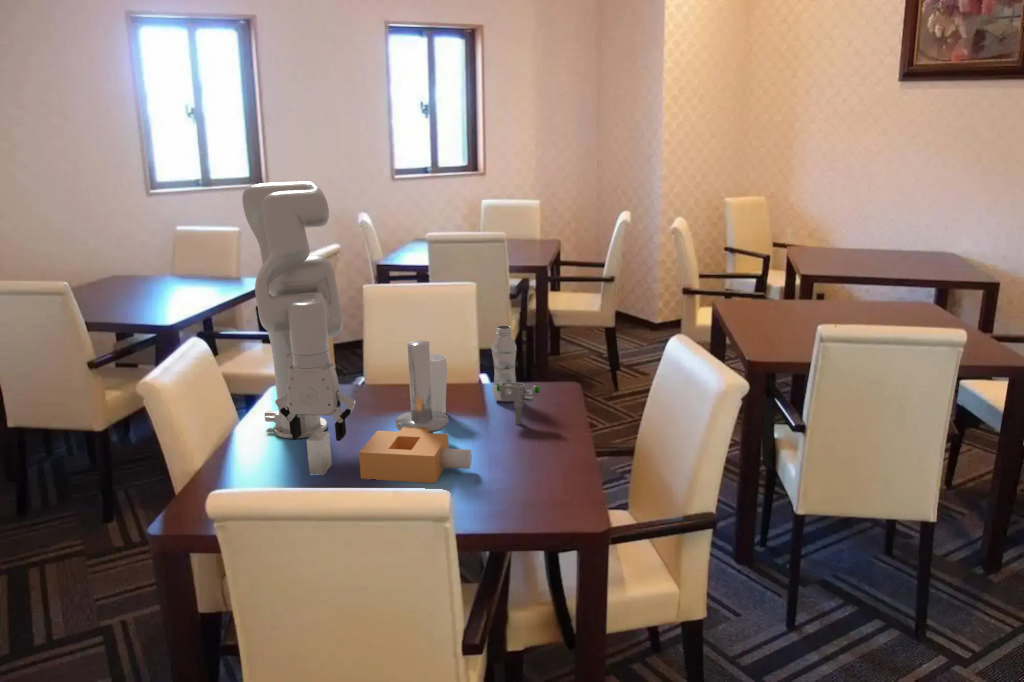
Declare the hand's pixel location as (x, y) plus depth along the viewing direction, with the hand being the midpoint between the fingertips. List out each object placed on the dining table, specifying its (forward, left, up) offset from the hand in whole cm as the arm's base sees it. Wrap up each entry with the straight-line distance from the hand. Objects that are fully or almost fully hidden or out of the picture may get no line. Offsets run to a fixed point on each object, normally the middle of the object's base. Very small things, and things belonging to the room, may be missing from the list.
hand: (318, 438), depth 169 cm
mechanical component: (+37, +33, -8) cm, 50 cm away
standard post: (+17, +18, -8) cm, 26 cm away
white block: (-1, +1, -8) cm, 8 cm away
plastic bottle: (+31, +49, -8) cm, 59 cm away
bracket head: (+20, +5, -8) cm, 23 cm away
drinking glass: (+15, +37, -8) cm, 41 cm away
